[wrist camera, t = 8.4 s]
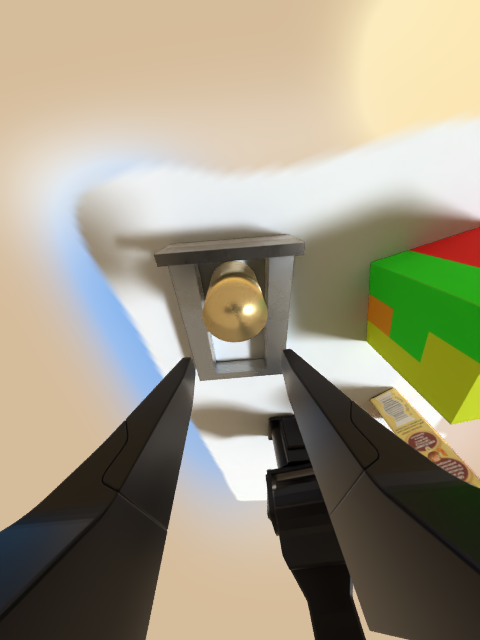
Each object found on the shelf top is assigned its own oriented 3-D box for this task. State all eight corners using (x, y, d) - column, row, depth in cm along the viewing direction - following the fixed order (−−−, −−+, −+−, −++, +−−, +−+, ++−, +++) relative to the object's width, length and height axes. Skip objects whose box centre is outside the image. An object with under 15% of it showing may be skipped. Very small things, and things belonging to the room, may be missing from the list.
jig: (279, 362, 23) (288, 388, 20) (201, 369, 23) (197, 395, 20) (289, 234, 15) (305, 242, 12) (169, 244, 15) (154, 254, 12)
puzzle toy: (456, 316, 21) (611, 391, 12) (366, 341, 22) (450, 424, 14) (491, 223, 16) (798, 243, 7) (370, 262, 17) (510, 318, 8)
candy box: (367, 399, 29) (482, 559, 16) (394, 385, 27) (546, 551, 14) (390, 418, 32) (499, 562, 19) (415, 407, 31) (551, 556, 18)
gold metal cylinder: (257, 303, 18) (267, 339, 13) (214, 306, 18) (208, 344, 13) (256, 259, 16) (268, 282, 11) (207, 263, 16) (196, 288, 11)
